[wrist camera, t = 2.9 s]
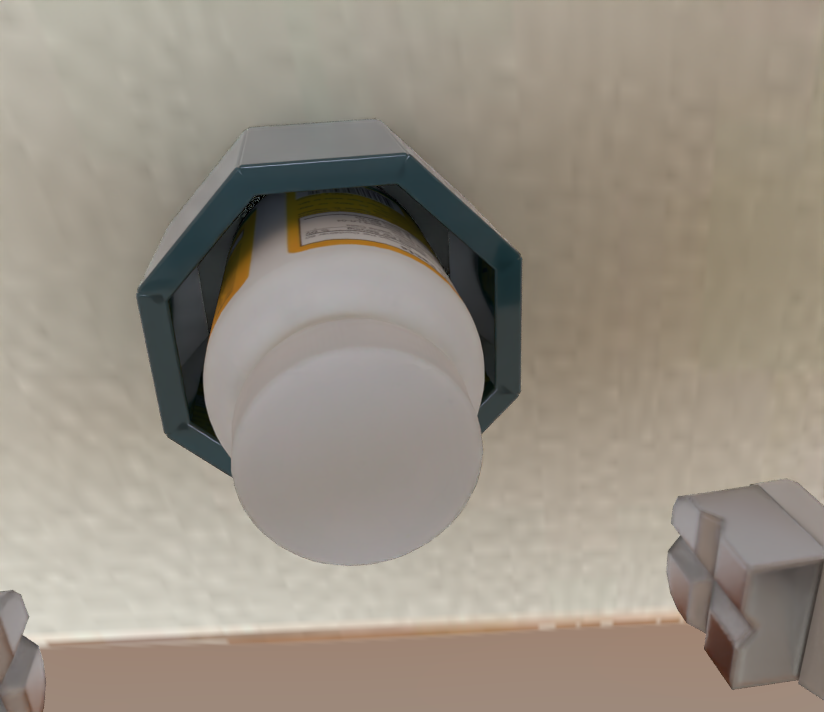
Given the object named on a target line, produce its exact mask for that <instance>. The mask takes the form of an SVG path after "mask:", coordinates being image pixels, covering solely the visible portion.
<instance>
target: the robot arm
mask: <svg viewBox="0 0 824 712" xmlns="http://www.w3.org/2000/svg"><path fill="white" fill-rule="evenodd" d="M671 524H672V525H673V526H674V528H675V529H676V530H677V531H678V533H679V534H680V537H679V538H678V539H677V540H676V541H675V543H674V544H673V545H672V546H671V548H670V549H669V550H668V557H667V577H668V583H669V588H670V593H671V595H672V598H673V600H674V602H675V605H676V607H677V609H678V611H679V612H680V614H681V615H682V617H683V618H684V620H685V621H686V623H688V624H690V625H691V626H693V627H695V628H697V629H699V630H701V631H702V632H704V633H706V638H705V646H704V649H705V651H706V652H707V654H708V655H709V657H710V658H711V660H712V661H713V662H714V664H715V665H716V666H717V668H718V670H719V671H720V673H721V674H722V676H723V677H724V678H725V680H726V681H727V683H728V684H729V686H730V687H731V689H732V690H735V689H741V688H748V687H755V686H762V685H769V684H775V683H782V682H789V681H796V680H799V682H798V683H799V684H800V685H801V686H803V687H804V688H806V689H807V690H809V691H810V692H812V693H813V694H815V695H816V696H818V697H819V698H821V699H822V700H824V506H823V505H822V504H821V503H820V502H819V501H818V500H817V499H816V498H814V497H813V496H812V495H811V494H810V493H809V492H808V491H807V490H805V489H804V488H803V487H802V486H801V485H800V484H799V483H798V482H795V481H792V480H790V479H787V478H786V479H780V480H774V481H768V482H762V483H756V484H751V485H750V486H746V487H739V488H732V489H725V490H719V491H712V492H705V493H698V494H691V495H684V496H678V498H677V500H676V502H675V504H674V506H673V511H672V519H671ZM28 619H29V615H28V612H27V609H26V607H25V604H24V601H23V599H22V596H21V594H19V593H17V592H15V591H13V590H8V591H0V712H43V709H44V700H45V687H46V678H45V670H44V662H43V659H42V656H41V652H40V649H39V646H38V645H36V644H35V643H34V642H32V641H31V640H29V639H28V638H26V637H25V636H23V635H22V634H23V632H24V629H25V626H26V624H27V621H28Z"/></svg>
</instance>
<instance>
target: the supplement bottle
mask: <svg viewBox="0 0 824 712" xmlns="http://www.w3.org/2000/svg"><path fill="white" fill-rule="evenodd" d="M203 386H204V397H205V404H206V408H207V412H208V416H209V419H210V421H211V424H212V426H213V429H214V431H215V434H216V436H217V438H218V440H219V441H220V443H221V445H222V446H223V448H224V449H225V451H226V452H227V453H228V455H229V456H230V458H231V473H232V477H233V481H234V485H235V489H236V492H237V495H238V498H239V500H240V502H241V504H242V506H243V508H244V510H245V512H246V513H247V515H248V516H249V517H250V519H251V520H252V522H253V523H254V524H255V525H256V526H257V527H258V528H259V530H260V531H261V532H262V533H264V534H265V535H266V536H267V537H268V538H269V539H271V540H272V541H273V542H275V543H276V544H277V545H279V546H281V547H282V548H284V549H286V550H288V551H290V552H292V553H294V554H296V555H298V556H301V557H303V558H306V559H309V560H312V561H315V562H319V563H325V564H333V565H347V566H353V565H367V564H375V563H379V562H384V561H388V560H392V559H395V558H398V557H401V556H404V555H406V554H408V553H410V552H412V551H414V550H416V549H418V548H420V547H422V546H423V545H425V544H427V543H429V542H430V541H431V540H432V539H434V538H435V537H437V536H438V535H439V534H440V533H442V532H443V531H444V530H445V529H446V528H447V527H448V526H449V525H450V524H451V523H452V522H453V521H454V520H455V519H456V518H457V517H458V515H459V514H460V513H461V511H462V510H463V508H464V507H465V505H466V504H467V502H468V500H469V498H470V496H471V494H472V493H473V491H474V489H475V486H476V484H477V481H478V478H479V474H480V470H481V464H482V455H483V445H482V435H481V429H480V424H479V421H478V417H477V414H478V411H479V408H480V404H481V399H482V395H483V390H484V357H483V351H482V346H481V341H480V338H479V335H478V332H477V329H476V326H475V324H474V321H473V319H472V317H471V315H470V313H469V311H468V309H467V307H466V305H465V304H464V302H463V301H462V299H461V297H460V296H459V294H458V292H457V291H456V289H455V287H454V286H453V284H452V282H451V281H450V279H449V278H448V276H447V274H446V273H445V271H444V269H443V267H442V266H441V264H440V262H439V261H438V259H437V257H436V255H435V254H434V252H433V250H432V249H431V247H430V245H429V244H428V242H427V241H426V239H425V237H424V236H423V234H422V232H421V230H420V229H419V227H418V226H417V224H416V222H415V221H414V219H413V218H412V217H411V215H410V214H409V213H408V212H407V211H406V210H405V208H404V207H402V206H401V205H400V204H399V203H398V202H397V201H396V200H395V199H394V198H393V197H391V196H390V195H388V194H387V193H386V192H384V191H382V190H381V189H379V188H377V187H375V186H367V187H355V188H342V189H330V190H317V191H305V192H292V193H280V194H268V195H267V196H265V197H264V198H263V199H261V200H260V201H259V202H258V203H257V204H256V205H255V206H254V207H253V208H252V209H251V210H250V212H249V213H248V214H247V215H246V217H245V218H244V219H243V221H242V222H241V224H240V226H239V228H238V229H237V231H236V233H235V236H234V238H233V241H232V244H231V247H230V250H229V253H228V257H227V261H226V266H225V271H224V275H223V280H222V284H221V289H220V293H219V297H218V301H217V306H216V310H215V315H214V319H213V323H212V328H211V332H210V336H209V340H208V345H207V350H206V356H205V362H204V371H203Z"/></svg>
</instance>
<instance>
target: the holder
mask: <svg viewBox="0 0 824 712" xmlns="http://www.w3.org/2000/svg"><path fill="white" fill-rule="evenodd" d="M392 184H398V185H399V186H400V187H401V188H402V189H403V190H404V191H405V192H407V193H408V194H409V195H410V196H411V197H412V198H413V199H415V200H416V201H417V202H418V203H419V204H420V205H421V206H423V207H424V208H425V209H426V210H427V211H428V212H429V213H430V214H432V215H433V216H434V217H435V218H436V219H437V220H438V221H440V222H441V223H442V224H443V225H444V226H445V227H446V228H447V229H448V233H449V269H450V281H451V282H452V284H453V286H454V287H455V289H456V291H457V292H458V294H459V296H460V297H461V299H462V301H463V302H464V304H465V305H466V307H467V309H468V311H469V313H470V315H471V317H472V319H473V321H474V324H475V326H476V329H477V332H478V335H479V338H480V341H481V346H482V351H483V357H484V390H483V395H482V399H481V404H480V408H479V411H478V414H477V417H478V421H479V424H480V429H481V434H482V433H483V432H484V431H485V430H486V429H487V428H488V427H489V426H490V425H491V424H492V423H493V422H494V421H495V420H496V419H497V418H498V417H499V416H500V415H501V414H502V413H503V412H504V411H505V410H506V409H507V408H508V407H509V405H510V404H511V403H512V402H513V401H514V400H515V399H516V398H517V397H518V396H519V394H520V392H521V327H522V257H521V254H520V253H519V252H518V251H517V250H516V249H515V248H514V247H513V246H512V245H511V244H510V243H509V242H508V241H507V240H506V239H505V238H504V236H503V235H502V234H501V233H500V232H499V231H498V230H497V229H496V228H495V227H494V226H493V225H492V224H491V223H490V222H489V221H488V220H487V219H486V218H485V217H484V216H483V215H482V214H481V213H480V212H479V211H478V210H477V209H476V208H475V207H474V206H473V205H472V204H471V203H470V202H469V201H468V200H467V199H466V198H465V197H464V196H463V195H462V194H461V193H460V192H459V191H458V190H456V189H455V188H454V187H453V186H452V185H451V184H450V183H449V182H448V181H447V180H445V179H444V178H443V177H442V176H441V175H440V174H439V173H438V172H437V171H436V170H435V169H433V168H432V167H431V166H430V165H429V164H428V163H427V162H426V161H425V160H424V159H422V158H421V157H420V156H419V155H418V154H417V153H416V152H415V151H414V150H413V149H412V148H410V147H409V146H408V145H407V144H406V143H405V142H404V141H403V140H402V139H401V138H400V137H398V136H397V135H396V134H395V133H394V132H393V131H392V130H391V129H390V128H389V127H387V126H386V125H385V124H384V123H383V122H382V121H381V120H377V119H362V120H347V121H333V122H319V123H304V124H290V125H276V126H262V127H249V128H248V130H244V131H243V132H242V134H241V135H240V136H239V137H238V139H237V140H236V141H235V142H234V144H233V145H232V146H231V147H230V149H229V150H228V151H227V152H226V154H225V155H224V156H223V157H222V159H221V160H220V161H219V162H218V164H217V165H216V166H215V167H214V169H213V170H212V171H211V172H210V174H209V175H208V176H207V177H206V179H205V180H204V181H203V183H202V184H201V185H200V186H199V188H198V189H197V190H196V191H195V193H194V194H193V195H192V196H191V198H190V199H189V200H188V201H187V203H186V204H185V205H184V206H183V208H182V209H181V210H180V211H179V213H178V214H177V215H176V216H175V218H174V219H173V220H172V221H171V223H170V224H169V225H168V227H167V229H166V231H165V233H164V235H163V237H162V239H161V242H160V244H159V246H158V248H157V250H156V252H155V254H154V256H153V258H152V260H151V262H150V264H149V266H148V268H147V270H146V272H145V274H144V276H143V278H142V280H141V282H140V285H139V287H138V289H137V293H136V299H137V304H138V309H139V314H140V318H141V323H142V328H143V333H144V338H145V343H146V348H147V353H148V357H149V362H150V367H151V372H152V377H153V382H154V387H155V392H156V397H157V401H158V406H159V411H160V416H161V421H162V426H163V431H164V433H165V434H167V437H168V438H170V439H171V440H173V441H174V442H176V443H178V444H179V445H181V446H182V447H184V448H186V449H187V450H189V451H190V452H192V453H194V454H195V455H197V456H199V457H200V458H202V459H203V460H205V461H207V462H208V463H210V464H211V465H213V466H215V467H216V468H218V469H219V470H221V471H223V472H224V473H226V474H227V475H229V476H231V477H232V473H231V458H230V456H229V455H228V453H227V452H226V451H225V449H224V448H223V446H222V445H221V443H220V441H219V440H218V438H217V436H216V434H215V431H214V429H213V426H212V424H211V421H210V419H209V416H208V412H207V408H206V404H205V397H204V386H203V371H204V362H205V356H206V350H207V345H208V340H209V336H210V335H209V331H208V325H207V319H206V313H205V307H204V301H203V295H202V289H201V283H200V278H199V272H198V266H197V265H198V264H199V263H200V262H201V261H202V259H203V258H204V257H205V256H206V254H207V253H208V252H209V251H210V250H211V248H212V247H213V246H214V245H215V243H216V242H217V241H218V240H219V239H220V237H221V236H222V235H223V234H224V232H225V231H226V230H227V229H228V228H229V226H230V225H231V224H232V223H233V222H234V220H235V219H236V218H237V217H238V215H239V214H240V213H241V212H242V211H243V209H244V208H245V207H246V206H247V204H248V203H249V202H250V201H251V200H252V198H253V197H254V196H255V195H268V194H280V193H292V192H305V191H317V190H330V189H342V188H355V187H367V186H379V185H392ZM232 478H233V477H232Z"/></svg>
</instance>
